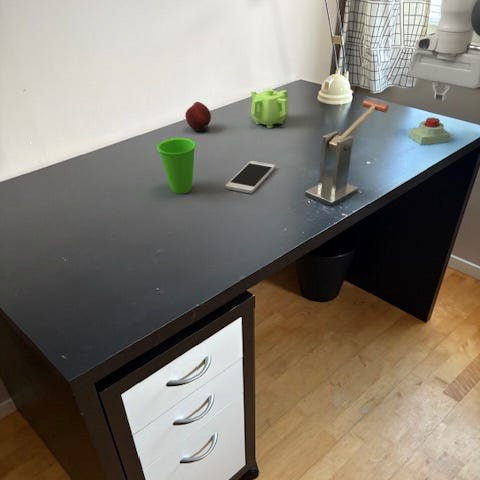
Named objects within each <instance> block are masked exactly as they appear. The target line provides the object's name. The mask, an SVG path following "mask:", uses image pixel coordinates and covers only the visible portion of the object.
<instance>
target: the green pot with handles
mask: <svg viewBox="0 0 480 480" xmlns="http://www.w3.org/2000/svg"><path fill="white" fill-rule="evenodd" d="M250 94H251V98H252V100H251V107H250V115H251V118H252V120H253V121H254V122H255V124H256V125H266V128H267V129H272V128H273V127H274V124H278V125H282V124H284V121H285V120H286V119H287V117H288V115H289V113H290V110H289V98H288V96H289V95H288V90H285V89H282V90H280V91H276V90H274V89H273V88H267V89H266V90H265V91H261V92H259V93H257V92H256V91H251V92H250Z"/></svg>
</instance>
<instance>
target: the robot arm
mask: <svg viewBox="0 0 480 480" xmlns="http://www.w3.org/2000/svg"><path fill="white" fill-rule="evenodd" d="M474 34H476V35H477V36H478V37H480V0H441V4H440V18H439V21H438V23H437V26H436V30H435V32H433V33H430V34H428V35H425V36H422V37H420V38H418V39H416V40H415V42H414V43H415V44H414V47H415V49H414V50H413V52H412V54H411V57H410V60H409V65H408V69H407V74H408V75H409V77H410V78H412V79H413V78H414V79H420V80H424V81H429V82H432V85H431V87H432V90H433V93H434V94H433V100H435V101H440V102H445V101H447V99H448V95H449V93H450V92H451V91H452V90H453V88H454V87H455V86H458V87H463V88H469V89H473V90H475V89H478V88H480V45H476V44H472V41H473V36H474ZM442 84H445V85H444V88H445V90H444V91H441V87H440V85H442Z"/></svg>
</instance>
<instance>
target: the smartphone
mask: <svg viewBox="0 0 480 480" xmlns="http://www.w3.org/2000/svg"><path fill="white" fill-rule="evenodd" d="M275 169H276V165H275V164H273V163H265V162H260V161H255V160H254V161H253V160H250V161H248V163H247V164H246V165H245V166H244V167H243V168H242V169H240V170H239V171H238V173H236V175H234V176H233V177H232V178H231V179H230V180H229V181H228V182H227V183H226V185H225V189H226V190H230V191H231V190H232V191H235V192H242V193H246V194H253V193H254V192H255V191H256V190H257V188H259V187H260V185H261V184H262V183H263V182H264V181H265V180H266V179H267V178H268V177H269V176H270V174H271V173H272V172H274V170H275Z"/></svg>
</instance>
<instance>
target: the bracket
mask: <svg viewBox="0 0 480 480" xmlns="http://www.w3.org/2000/svg"><path fill="white" fill-rule="evenodd" d="M339 134H340V131H337V130H333V131H331V132H329V133H327V134H325V135H323V136H322V140H321V141H322V142H321V154H320V164H319V174H318V184H317V185H315V186H313V187H311V188H309V189H307V190H305V193H304V196H305V197H308V198H310V199H312V200H314V201H317V202H319V203H322V204H324V205H326V206H328V207H331V208H333V207H334V206H336V205H338V204H339V203H342V202H343V201H345V200H347V199H349V198H350V197H352V196H354V195H356V194H358V192H359V187H358V186H355V185H352V184H350V183H348V180H349V172H350V165H351V164H350V163H351V156H352V148H353V142H354V136H353V135H351V136H347V137H345V138H343V139H341V140H339V141H337V149H336V153H334V152H331V151H330V147H329V142H330V141H331V140H332V139H333V138H334V137H335V136H336V135H338V136H340V135H339Z"/></svg>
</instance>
